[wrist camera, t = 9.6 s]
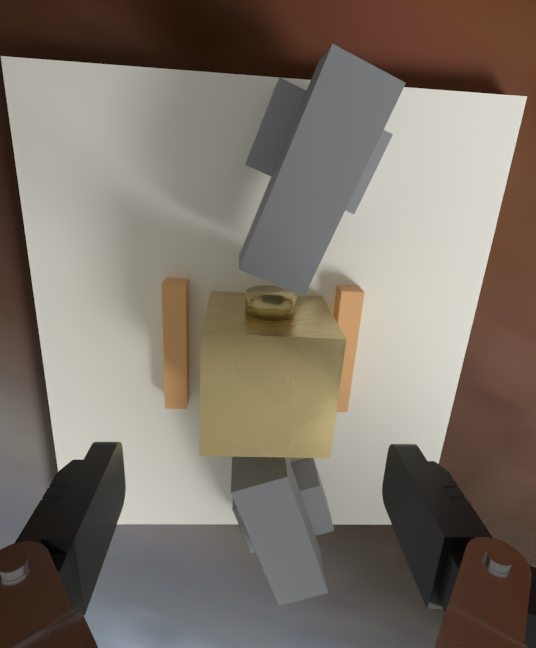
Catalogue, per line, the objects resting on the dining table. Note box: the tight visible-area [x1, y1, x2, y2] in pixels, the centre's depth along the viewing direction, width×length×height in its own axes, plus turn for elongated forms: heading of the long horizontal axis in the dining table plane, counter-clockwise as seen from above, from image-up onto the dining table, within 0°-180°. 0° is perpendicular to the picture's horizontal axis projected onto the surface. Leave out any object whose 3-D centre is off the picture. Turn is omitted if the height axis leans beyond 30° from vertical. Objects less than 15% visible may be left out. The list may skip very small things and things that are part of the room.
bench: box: [1, 44, 527, 606], centre depth 19 cm, size 22×20×6 cm
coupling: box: [199, 285, 347, 458], centre depth 18 cm, size 7×5×5 cm
